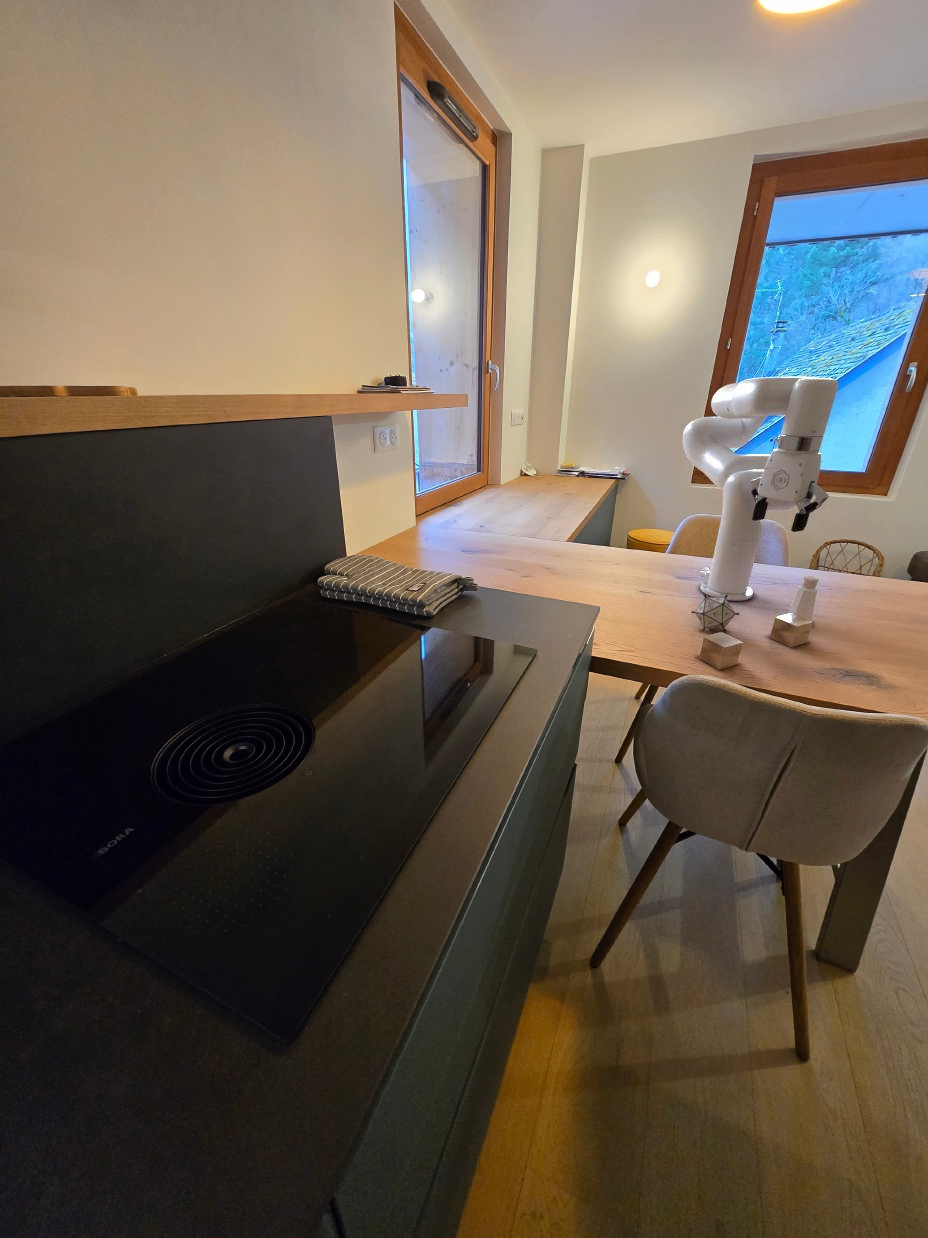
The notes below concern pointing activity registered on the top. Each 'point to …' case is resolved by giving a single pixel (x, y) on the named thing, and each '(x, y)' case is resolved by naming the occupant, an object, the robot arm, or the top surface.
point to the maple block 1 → (720, 650)
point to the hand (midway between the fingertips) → (776, 525)
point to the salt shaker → (805, 598)
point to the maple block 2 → (791, 629)
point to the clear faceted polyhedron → (715, 613)
